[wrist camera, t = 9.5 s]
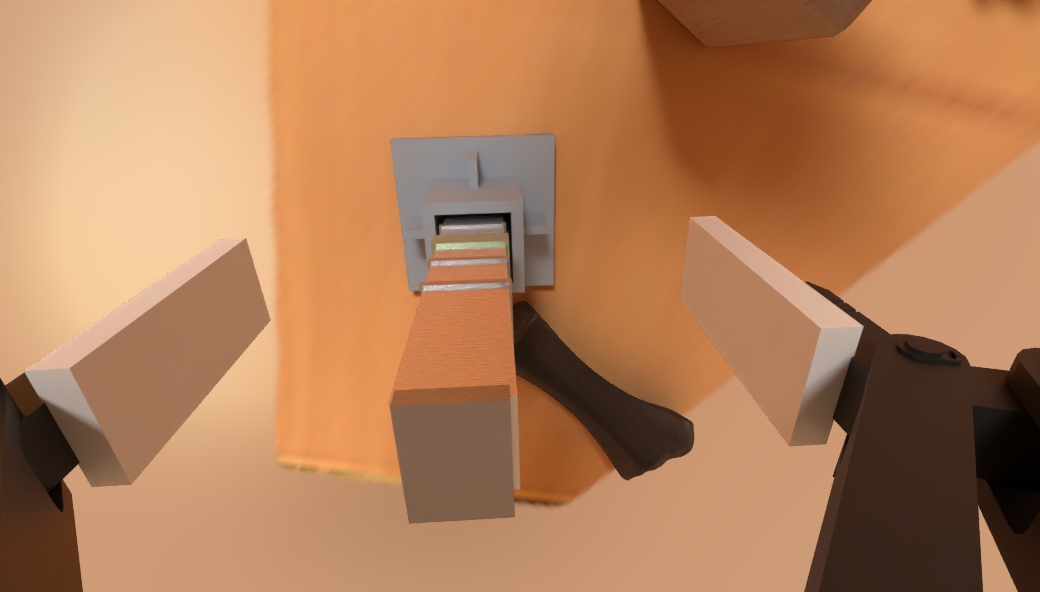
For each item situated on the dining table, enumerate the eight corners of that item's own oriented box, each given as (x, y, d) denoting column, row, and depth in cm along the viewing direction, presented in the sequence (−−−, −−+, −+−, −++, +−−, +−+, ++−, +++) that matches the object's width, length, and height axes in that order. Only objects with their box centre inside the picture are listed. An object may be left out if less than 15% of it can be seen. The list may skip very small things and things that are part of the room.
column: (440, 211, 42) (373, 407, 18) (505, 209, 43) (526, 399, 18) (446, 275, 45) (394, 524, 20) (508, 273, 45) (529, 516, 21)
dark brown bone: (668, 414, 68) (515, 287, 62) (718, 432, 58) (542, 283, 52) (624, 481, 66) (463, 356, 60) (669, 511, 56) (480, 365, 50)
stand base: (393, 138, 49) (366, 157, 38) (552, 133, 49) (569, 151, 39) (411, 285, 56) (393, 335, 45) (552, 279, 56) (566, 327, 46)
